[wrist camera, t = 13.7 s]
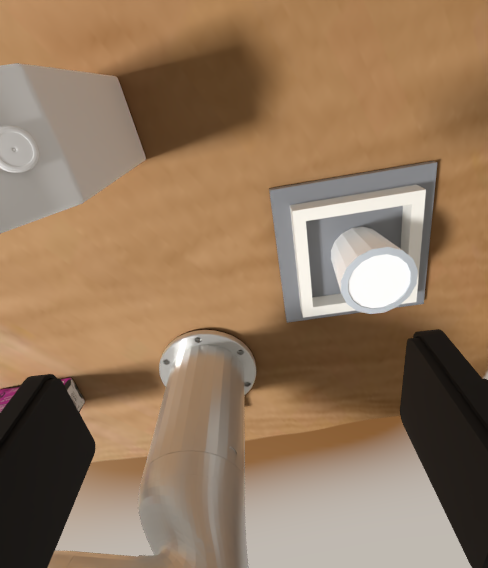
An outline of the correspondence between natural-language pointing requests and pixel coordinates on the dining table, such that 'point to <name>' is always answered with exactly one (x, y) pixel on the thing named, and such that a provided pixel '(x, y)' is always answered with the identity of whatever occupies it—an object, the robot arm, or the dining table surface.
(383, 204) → the holder tray
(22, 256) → the dining table surface
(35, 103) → the milk carton
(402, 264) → the white cup
